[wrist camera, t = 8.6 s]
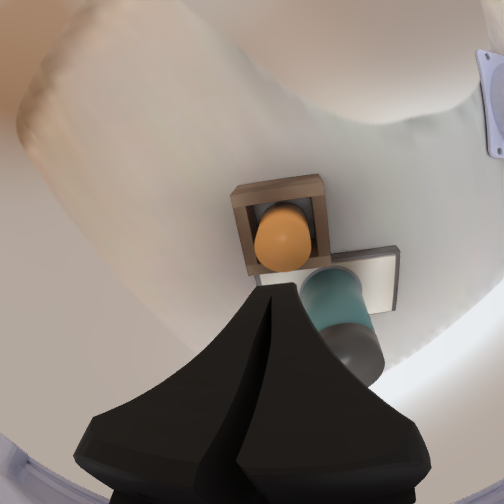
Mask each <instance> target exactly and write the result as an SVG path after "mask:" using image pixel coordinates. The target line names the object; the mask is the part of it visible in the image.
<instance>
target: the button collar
mask: <svg viewBox="0 0 504 504" xmlns="http://www.w3.org/2000/svg"><path fill="white" fill-rule="evenodd" d="M230 197H231V202H232V206H233V211H234V215H235V220H236V224H237V228H238V233H239V237H240V242H241V246H242V250H243V255H244V259H245V264H246V268H247V272H248V276H252V275H261V274H270V273H279V272H276V271H273V270H270V269H268V268H266V267H265V266H264V265H263V264H262V263H261V262H260V261H259V260H258V258H257V256H256V253H255V249H254V243H255V239H256V235H257V231H258V227H257V222H256V217H255V212H254V207H253V205H255V204H262V203H269V202H276V201H283V200H290V199H297V198H305V197H310V200H311V208H312V216H313V224H314V232H315V240H311V253H310V256H309V258H308V260H307V261H306V262H305V263H304V264H303V265H302V266H301V267H300V268H298V269H296V270H305V269H313V268H321V267H329V266H331V253H330V241H329V230H328V220H327V210H326V201H325V193H324V185H323V181H322V179H321V178H320V176H319V174H312V175H304V176H297V177H290V178H283V179H276V180H269V181H263V182H257V183H251V184H245V185H239V186H237V187H236V189H235V190H234V191H233V193H232V194H231V195H230ZM296 270H294V271H296Z"/></svg>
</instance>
